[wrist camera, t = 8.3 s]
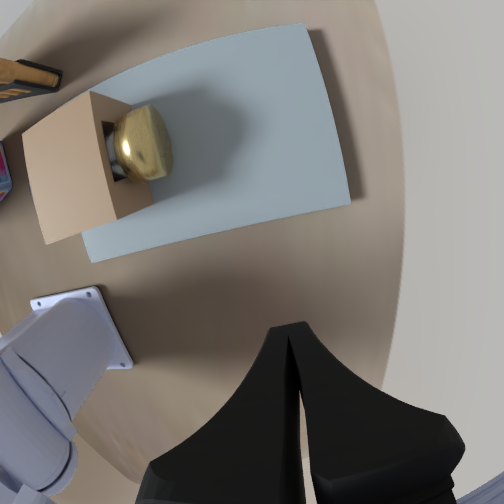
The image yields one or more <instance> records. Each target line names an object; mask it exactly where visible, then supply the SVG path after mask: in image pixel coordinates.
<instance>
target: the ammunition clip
mask: <svg viewBox="0 0 504 504" xmlns="http://www.w3.org/2000/svg"><path fill="white" fill-rule="evenodd" d="M61 75H62V71H60V70H57V69H54V68H51V67H47V66H44V65H41V64H37V63H34V62H30V61H26V60H22V59H20V60H17V61H11V60H7V59H2V58H0V103H4V102H8V101H12V100H17V99H21V98H26V97H31V96H36V95H42V94H48V93H55V92H57V91H58V87H59V83H60V79H61Z"/></svg>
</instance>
